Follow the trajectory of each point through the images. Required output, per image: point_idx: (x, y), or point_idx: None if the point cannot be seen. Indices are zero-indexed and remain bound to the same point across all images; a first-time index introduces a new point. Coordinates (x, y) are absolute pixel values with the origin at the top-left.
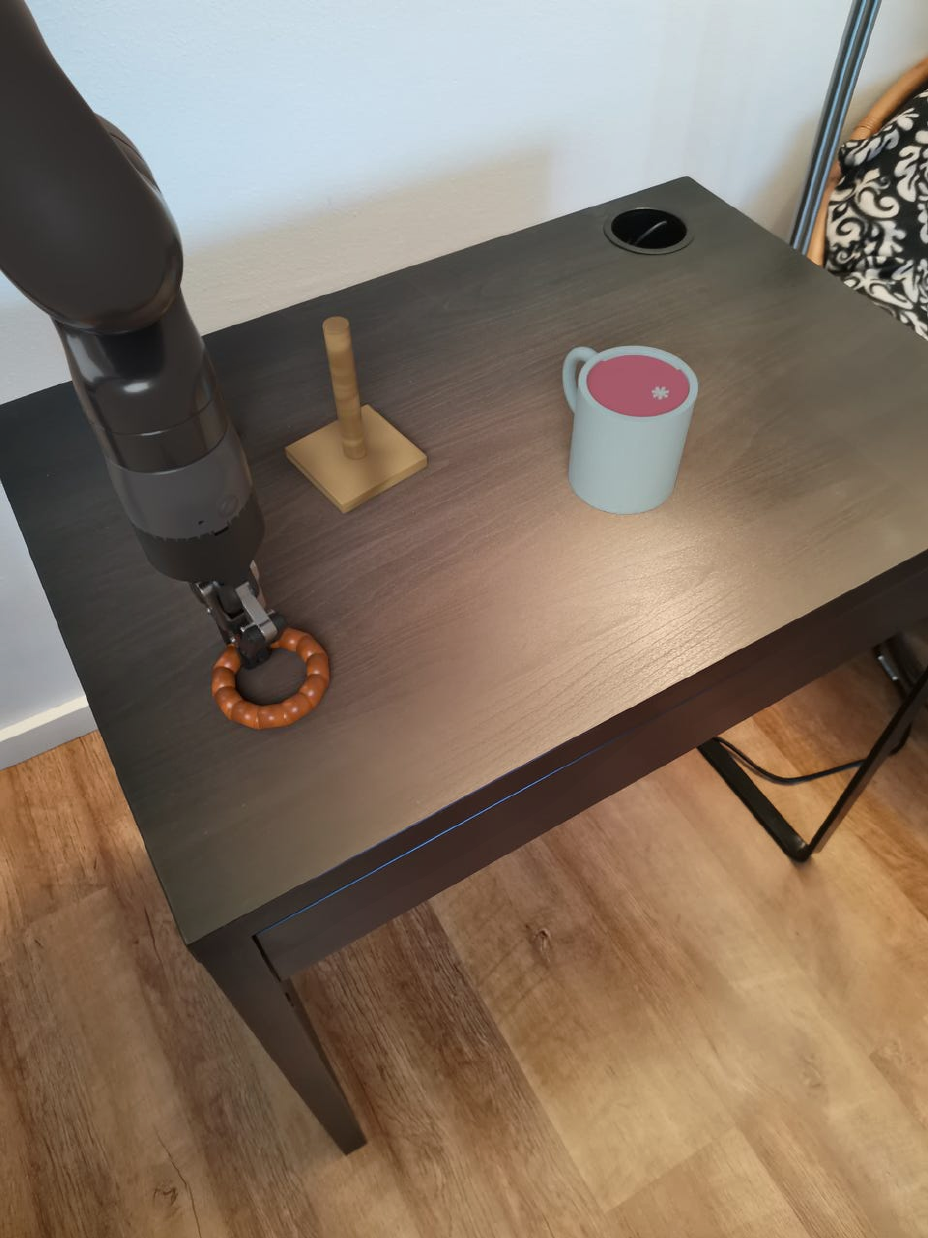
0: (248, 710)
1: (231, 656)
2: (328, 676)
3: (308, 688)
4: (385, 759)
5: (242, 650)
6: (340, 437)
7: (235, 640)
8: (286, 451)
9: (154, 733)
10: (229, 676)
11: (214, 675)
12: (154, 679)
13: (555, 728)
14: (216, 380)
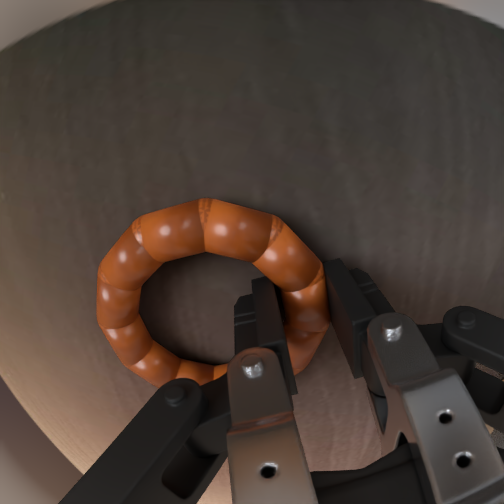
0: (122, 271)
1: (282, 276)
2: None
3: (144, 371)
4: (49, 376)
5: (173, 401)
6: (485, 424)
7: (228, 388)
8: None
9: (190, 51)
10: (232, 256)
11: (250, 226)
12: (334, 86)
13: (81, 465)
14: None
